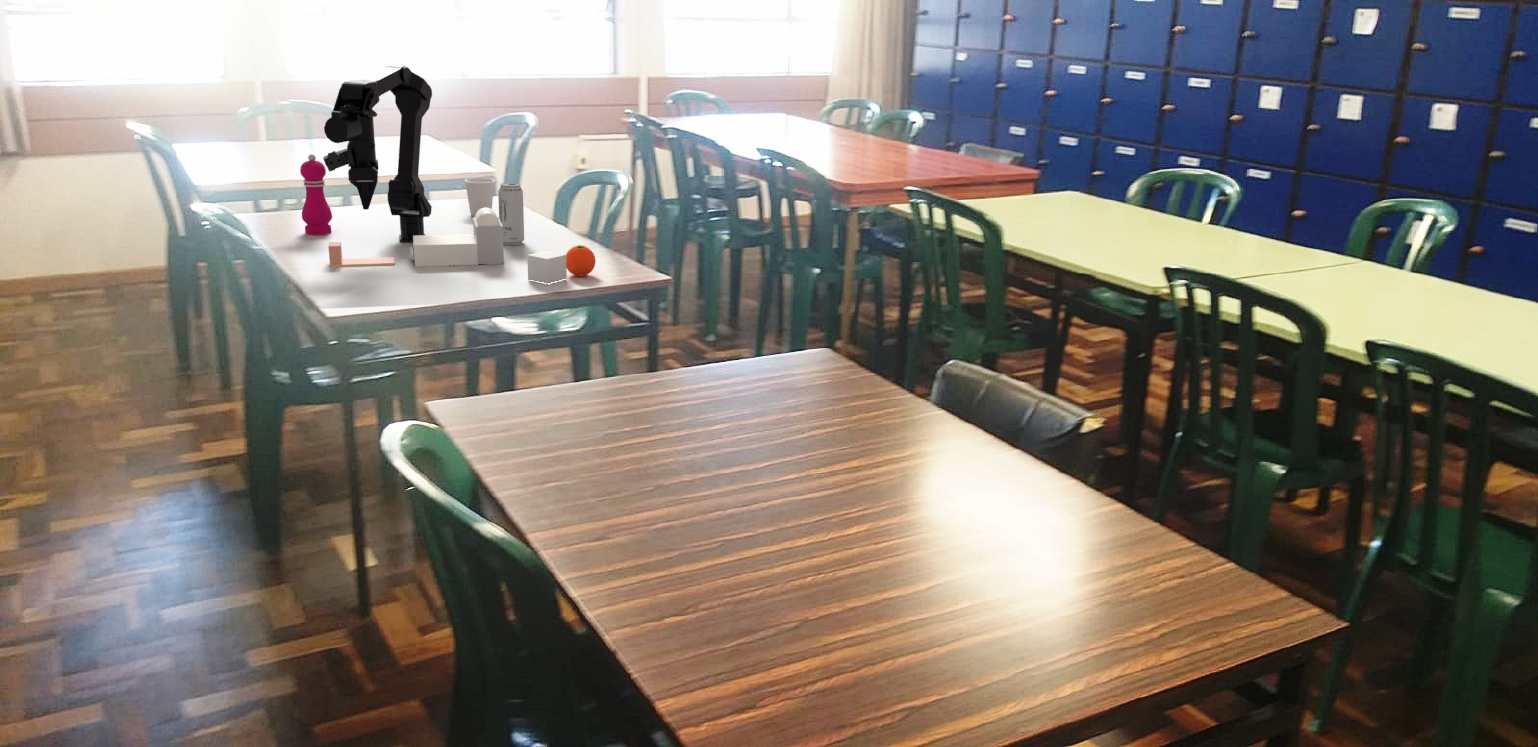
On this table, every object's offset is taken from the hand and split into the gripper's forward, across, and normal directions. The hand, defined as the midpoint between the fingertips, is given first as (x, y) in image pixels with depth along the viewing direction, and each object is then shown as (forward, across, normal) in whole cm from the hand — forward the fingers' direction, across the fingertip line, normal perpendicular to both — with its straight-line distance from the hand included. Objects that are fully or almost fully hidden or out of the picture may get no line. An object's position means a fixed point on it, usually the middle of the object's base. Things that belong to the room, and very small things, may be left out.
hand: (366, 205), depth 269 cm
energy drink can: (+12, -10, +34) cm, 37 cm away
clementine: (+12, +26, +46) cm, 54 cm away
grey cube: (+12, +30, +38) cm, 50 cm away
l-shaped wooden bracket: (+12, +7, -2) cm, 14 cm away
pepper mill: (+12, -29, -13) cm, 34 cm away
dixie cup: (+12, -49, +29) cm, 58 cm away
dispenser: (+12, +7, +20) cm, 24 cm away
